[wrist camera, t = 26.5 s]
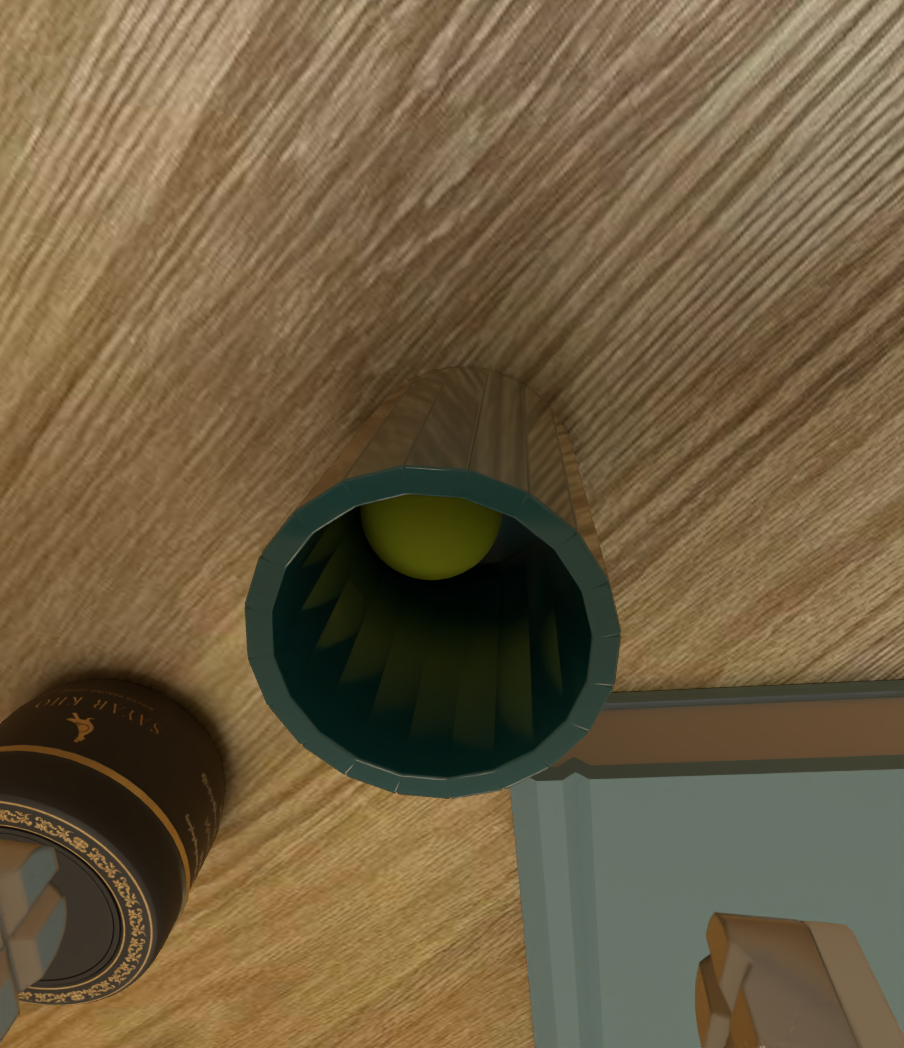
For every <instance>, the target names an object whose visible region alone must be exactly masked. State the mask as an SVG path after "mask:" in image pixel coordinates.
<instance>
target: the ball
mask: <svg viewBox="0 0 904 1048" xmlns="http://www.w3.org/2000/svg"><path fill="white" fill-rule="evenodd" d="M360 515H361V521H362V527H363V530H364V533H365V536H366V538H367V540H368V542H369V544H370V546H371V547H372V549H373V550H374V552H375V553H376V554H377V555H378V557H379V558H380V559H381V560H382V561H384V562H385V563H386V564H387V565H388V566H390V567H391V568H393V569H394V570H396V571H398V572H399V573H401V574H404V575H406V576H409V577H412V578H416V579H423V580H440V579H446V578H451V577H454V576H456V575H459V574H462V573H464V572H465V571H467V570H469V569H470V568H472V567H474V566H475V565H476V564H477V563H478V562H480V561H481V560H482V559H483V558H484V556H485V555H486V554H487V553H488V552H489V550H490V549H491V547H492V545H493V544H494V542H495V540H496V538H497V536H498V533H499V530H500V526H501V523H502V513H500V512H497V511H494V510H492V509H489V508H486V507H484V506H481V505H479V504H476V503H473V502H471V501H468V500H466V499H463V498H453V497H438V496H423V495H409V494H408V495H404V496H400V497H395V498H391V499H387V500H383V501H379V502H375V503H371V504H366V505H362V506H360Z"/></svg>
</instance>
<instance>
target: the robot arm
mask: <svg viewBox="0 0 904 1048" xmlns="http://www.w3.org/2000/svg"><path fill="white" fill-rule="evenodd" d="M58 869H59V865H58V861H57V857H56V853H55V849H54V847H50V846H46V845H42V844H34V843H26V842H19V841H11V840H3V839H0V1043H1V1041H2V1040H3V1038H4V1037H5V1035H6V1034H7V1032H8V1031H9V1029H10V1027H11V1026H12V1024H13V1023H14V1021H15V1020H16V1018H17V1017H18V1015H19V1013H20V1009H19V993H20V992H22V991H23V990H25V989H26V988H28V987H29V986H31V985H32V984H34V983H35V982H37V981H38V980H39V979H41V978H42V977H43V976H44V974H45V973H46V971H47V969H48V968H49V966H50V964H51V963H52V961H53V959H54V958H55V956H56V954H57V952H58V949H59V946H60V943H61V940H62V937H63V935H64V932H65V929H66V917H67V906H66V901H65V895H64V894H63V893H62V892H61V891H60V890H59V889H58V888H57V887H56V885H55V884H54V883H53V882H52V881H51V879H52V877H53V876H54V875H55V873H56V872H57V870H58ZM706 939H707V943H708V947H709V951H710V954H709V955H708V956H707V957H705V958H704V959H703V960H701V961H700V962H699V966H698V971H697V976H696V982H695V1013H696V1021H697V1029H698V1034H699V1039H700V1043H701V1048H904V1035H903V1033H902V1031H901V1029H900V1027H899V1024H898V1022H897V1020H896V1018H895V1016H894V1014H893V1012H892V1010H891V1008H890V1006H889V1004H888V1002H887V1000H886V998H885V996H884V994H883V992H882V989H881V987H880V985H879V983H878V981H877V979H876V977H875V975H874V973H873V971H872V969H871V967H870V965H869V963H868V961H867V959H866V957H865V954H864V952H863V950H862V948H861V946H860V944H859V942H858V940H857V938H856V936H855V934H854V932H853V931H852V930H851V929H850V928H849V927H848V926H847V925H846V924H835V923H825V922H815V921H804V920H801V921H798V920H796V919H787V918H776V917H765V916H753V915H742V914H731V913H720V912H714V913H713V915H712V916H711V918H710V919H709V923H708V927H707V931H706Z"/></svg>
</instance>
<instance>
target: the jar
mask: <svg viewBox="0 0 904 1048" xmlns="http://www.w3.org/2000/svg"><path fill="white" fill-rule="evenodd" d="M224 796H225V776H224V770H223V766H222V763H221V760H220V757H219V754H218V752H217V750H216V748H215V746H214V744H213V743H212V741H211V739H210V738H209V736H208V734H207V733H206V732H205V730H204V729H203V727H202V726H201V725H200V724H199V723H198V721H197V720H196V719H195V718H194V717H193V716H192V715H191V714H190V713H188V712H187V711H186V710H185V709H184V708H183V707H181V706H180V705H179V704H177V703H176V702H174V701H173V700H171V699H169V698H168V697H166V696H164V695H162V694H160V693H158V692H156V691H154V690H152V689H149V688H146V687H143V686H140V685H137V684H133V683H128V682H123V681H116V680H107V679H91V680H82V681H76V682H72V683H68V684H65V685H62V686H60V687H58V688H55V689H53V690H51V691H49V692H47V693H45V694H43V695H41V696H39V697H37V698H35V699H33V700H31V701H29V702H28V703H26V704H24V705H23V706H21V707H20V708H18V709H17V710H16V711H14V712H13V713H12V714H11V715H10V716H8V717H7V718H6V719H5V720H4V721H3V722H2V723H1V724H0V839H3V840H11V841H19V842H26V843H34V844H42V845H46V846H50V847H54V849H55V853H56V857H57V861H58V865H59V869H58V870H57V872H56V873H55V875H54V876H53V877H52V879H51V881H52V882H53V883H54V884H55V885H56V887H57V888H58V889H59V890H60V891H61V892H62V893H63V894H64V895H65V901H66V906H67V917H66V929H65V932H64V935H63V937H62V940H61V943H60V946H59V949H58V952H57V954H56V956H55V958H54V959H53V961H52V963H51V964H50V966H49V968H48V969H47V971H46V973H45V974H44V976H43V977H42V978H41V979H39V980H38V981H37V982H35V983H34V984H32V985H31V986H29V987H28V988H26V989H25V990H23V991H22V992H20V993H19V1001H22V1002H26V1003H32V1004H40V1005H53V1006H65V1005H77V1004H84V1003H90V1002H94V1001H98V1000H101V999H104V998H107V997H110V996H112V995H114V994H116V993H118V992H120V991H122V990H124V989H125V988H127V987H128V986H130V985H131V984H132V983H133V982H135V981H136V980H137V979H138V978H139V977H141V976H142V975H143V973H144V972H145V971H146V970H147V969H148V968H149V966H150V965H151V964H152V963H153V961H154V960H155V958H156V956H157V955H158V953H159V952H160V950H161V948H162V947H163V945H164V943H165V941H166V939H167V938H168V936H169V934H170V933H171V932H172V930H173V929H174V927H175V926H176V924H177V923H178V921H179V919H180V917H181V915H182V913H183V911H184V908H185V906H186V903H187V901H188V896H189V891H190V889H191V887H192V885H193V883H194V881H195V879H196V877H197V875H198V873H199V871H200V869H201V867H202V865H203V863H204V861H205V859H206V857H207V855H208V853H209V851H210V849H211V847H212V845H213V842H214V840H215V838H216V835H217V832H218V829H219V826H220V821H221V816H222V810H223V803H224Z"/></svg>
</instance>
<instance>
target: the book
mask: <svg viewBox="0 0 904 1048" xmlns="http://www.w3.org/2000/svg"><path fill="white" fill-rule="evenodd" d="M510 791H511V801H512V812H513V822H514V833H515V843H516V853H517V864H518V874H519V885H520V895H521V905H522V916H523V926H524V937H525V947H526V957H527V968H528V978H529V989H530V999H531V1009H532V1020H533V1030H534V1041H535V1048H701V1043H700V1039H699V1034H698V1029H697V1021H696V1013H695V982H696V976H697V971H698V966H699V962H700V961H701V960H703V959H704V958H705V957H707V956H708V955H709V954H710V951H709V947H708V943H707V939H706V931H707V927H708V923H709V919H710V918H711V916H712V915H713V913H714V912H720V913H731V914H742V915H753V916H765V917H776V918H787V919H796V920H798V921H801V920H804V921H815V922H825V923H835V924H846V925H847V926H848V927H849V928H850V929H851V930H852V931H853V932H854V934H855V936H856V938H857V940H858V942H859V944H860V946H861V948H862V950H863V952H864V954H865V957H866V959H867V961H868V963H869V965H870V967H871V969H872V971H873V973H874V975H875V977H876V979H877V981H878V983H879V985H880V987H881V989H882V992H883V994H884V996H885V998H886V1000H887V1002H888V1004H889V1006H890V1008H891V1010H892V1012H893V1014H894V1016H895V1018H896V1020H897V1022H898V1024H899V1027H900V1029H901V1031H902V1033H903V1035H904V680H884V681H862V682H840V683H818V684H796V685H774V686H752V687H730V688H708V689H686V690H664V691H642V692H620V693H610V695H609V697H608V699H607V700H606V702H605V704H604V706H603V708H602V710H601V712H600V713H599V715H598V717H597V719H596V721H595V723H594V724H593V726H592V728H591V730H590V731H588V733H587V735H586V736H585V737H584V738H582V739H581V740H580V741H579V742H578V743H577V744H576V745H575V746H574V747H573V748H572V749H570V750H569V751H568V752H567V753H566V754H565V755H564V756H563V757H562V758H561V759H560V760H558V761H557V762H556V763H555V764H554V765H553V766H550V767H549V768H548V769H547V770H544V771H542V772H540V773H538V774H536V775H534V776H532V777H530V778H528V779H525V780H523V781H521V782H519V783H517V784H515V785H513V786H511V787H510Z"/></svg>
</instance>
